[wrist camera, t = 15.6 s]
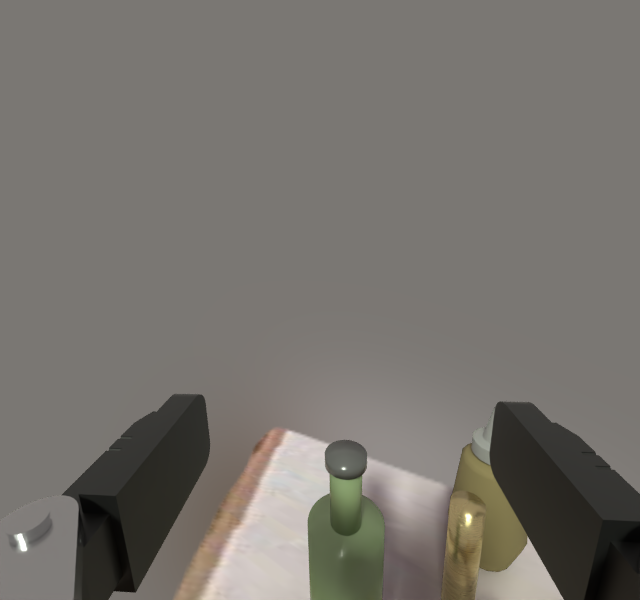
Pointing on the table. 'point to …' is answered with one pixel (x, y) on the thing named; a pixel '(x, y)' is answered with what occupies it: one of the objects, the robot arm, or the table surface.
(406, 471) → the table surface
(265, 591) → the table surface
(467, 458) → the squeeze bottle
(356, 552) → the olive bottle
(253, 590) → the table surface
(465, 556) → the brass rod
